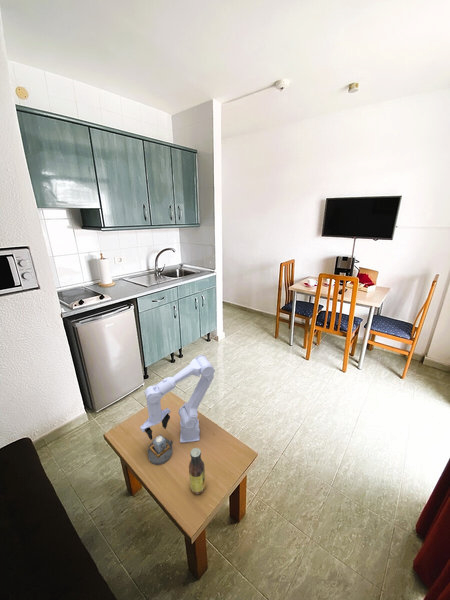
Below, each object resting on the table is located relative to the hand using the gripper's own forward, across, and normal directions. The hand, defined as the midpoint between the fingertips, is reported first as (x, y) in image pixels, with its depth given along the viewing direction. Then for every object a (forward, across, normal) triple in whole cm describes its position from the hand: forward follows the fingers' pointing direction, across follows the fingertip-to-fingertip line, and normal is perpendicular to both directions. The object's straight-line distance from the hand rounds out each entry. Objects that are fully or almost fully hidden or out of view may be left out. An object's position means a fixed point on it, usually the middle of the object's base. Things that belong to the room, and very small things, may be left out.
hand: (157, 432), depth 114 cm
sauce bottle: (+10, 0, +27) cm, 29 cm away
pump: (+6, +2, +3) cm, 7 cm away
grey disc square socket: (+9, +2, +3) cm, 10 cm away
